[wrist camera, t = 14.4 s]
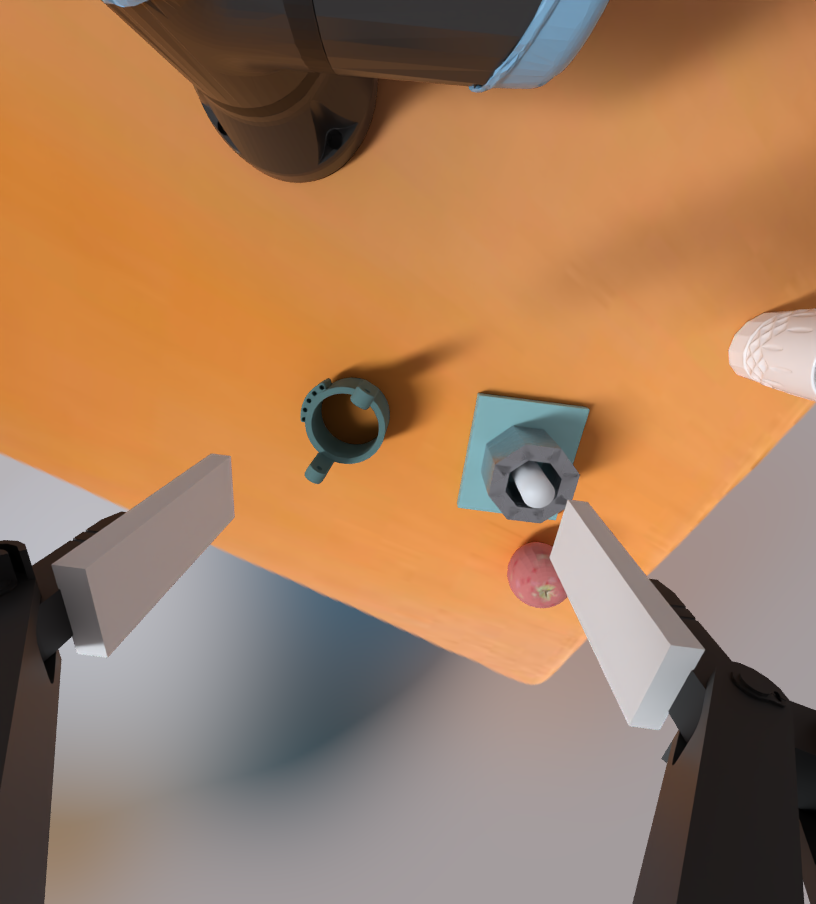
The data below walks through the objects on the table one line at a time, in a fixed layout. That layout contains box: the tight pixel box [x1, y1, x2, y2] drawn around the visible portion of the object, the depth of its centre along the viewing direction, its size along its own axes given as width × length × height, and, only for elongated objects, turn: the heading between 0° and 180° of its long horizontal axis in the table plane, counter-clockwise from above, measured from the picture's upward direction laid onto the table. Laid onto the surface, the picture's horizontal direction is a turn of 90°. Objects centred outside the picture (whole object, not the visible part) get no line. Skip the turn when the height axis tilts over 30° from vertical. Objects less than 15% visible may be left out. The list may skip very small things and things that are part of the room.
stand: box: [457, 393, 590, 520], centre depth 40 cm, size 14×12×9 cm
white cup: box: [728, 309, 816, 402], centre depth 34 cm, size 8×8×10 cm
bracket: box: [301, 378, 390, 484], centre depth 39 cm, size 9×9×9 cm
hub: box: [481, 426, 580, 523], centre depth 40 cm, size 8×8×6 cm
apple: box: [507, 542, 567, 608], centre depth 46 cm, size 7×7×8 cm
